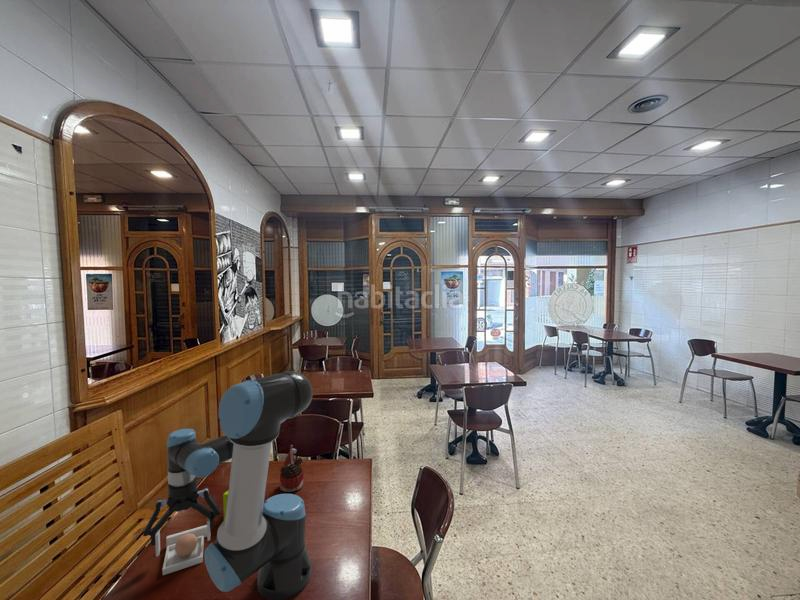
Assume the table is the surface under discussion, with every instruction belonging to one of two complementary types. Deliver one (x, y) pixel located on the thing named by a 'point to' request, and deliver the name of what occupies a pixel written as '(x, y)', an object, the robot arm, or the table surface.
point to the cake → (291, 473)
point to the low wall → (196, 531)
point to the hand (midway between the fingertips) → (184, 545)
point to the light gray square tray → (182, 558)
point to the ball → (186, 545)
